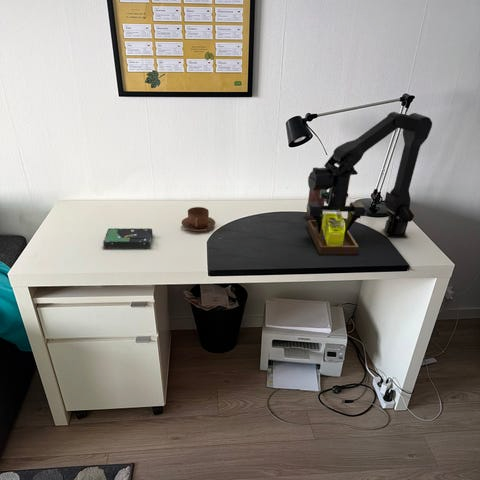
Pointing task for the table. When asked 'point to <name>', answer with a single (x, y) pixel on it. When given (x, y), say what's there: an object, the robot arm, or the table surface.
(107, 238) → the disk drive
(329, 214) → the yellow toy chassis
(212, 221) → the cup and saucer
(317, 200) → the can
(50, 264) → the table surface
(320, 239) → the tray
